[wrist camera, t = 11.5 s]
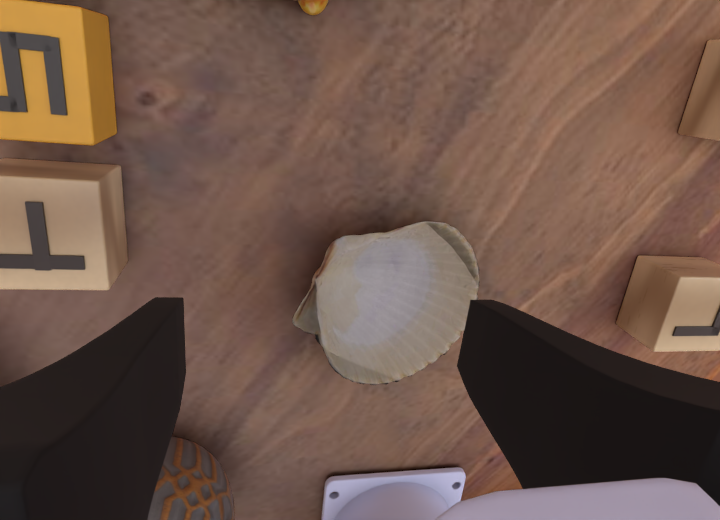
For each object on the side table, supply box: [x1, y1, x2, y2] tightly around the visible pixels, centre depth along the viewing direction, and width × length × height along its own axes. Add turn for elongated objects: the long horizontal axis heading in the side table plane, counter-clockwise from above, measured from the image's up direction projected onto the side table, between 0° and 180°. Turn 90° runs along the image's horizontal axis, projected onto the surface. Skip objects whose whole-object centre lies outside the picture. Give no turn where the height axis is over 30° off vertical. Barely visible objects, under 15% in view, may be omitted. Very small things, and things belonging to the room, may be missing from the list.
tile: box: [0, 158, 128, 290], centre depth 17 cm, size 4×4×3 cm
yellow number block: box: [0, 0, 117, 146], centre depth 16 cm, size 4×4×3 cm
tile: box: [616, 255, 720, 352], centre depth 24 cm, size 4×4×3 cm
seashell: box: [292, 221, 479, 385], centre depth 21 cm, size 8×3×8 cm
